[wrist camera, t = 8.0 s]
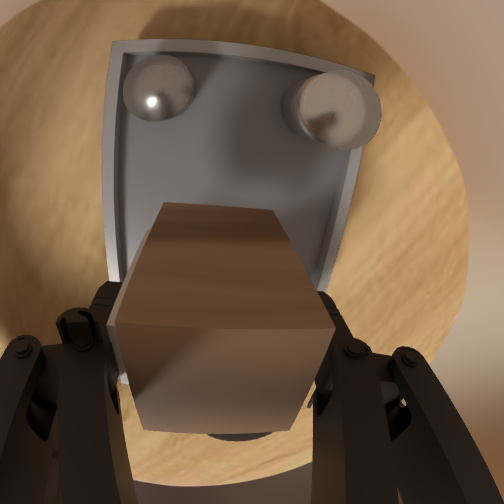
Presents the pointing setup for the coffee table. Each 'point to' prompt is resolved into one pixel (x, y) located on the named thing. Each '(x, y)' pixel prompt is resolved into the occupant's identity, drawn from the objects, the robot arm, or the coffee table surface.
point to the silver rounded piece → (333, 109)
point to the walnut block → (220, 323)
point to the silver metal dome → (158, 88)
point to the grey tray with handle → (223, 151)
